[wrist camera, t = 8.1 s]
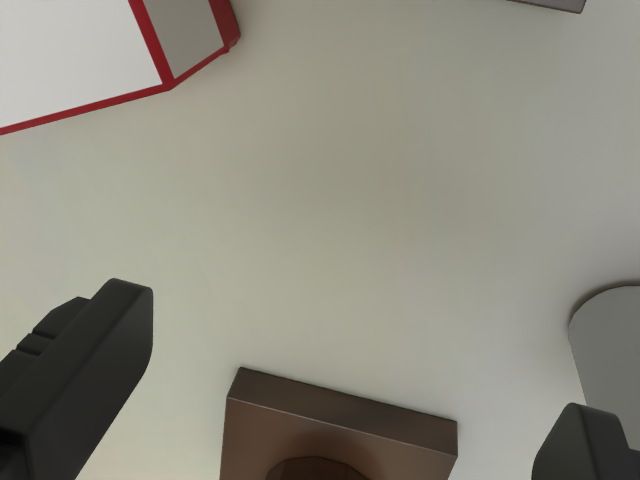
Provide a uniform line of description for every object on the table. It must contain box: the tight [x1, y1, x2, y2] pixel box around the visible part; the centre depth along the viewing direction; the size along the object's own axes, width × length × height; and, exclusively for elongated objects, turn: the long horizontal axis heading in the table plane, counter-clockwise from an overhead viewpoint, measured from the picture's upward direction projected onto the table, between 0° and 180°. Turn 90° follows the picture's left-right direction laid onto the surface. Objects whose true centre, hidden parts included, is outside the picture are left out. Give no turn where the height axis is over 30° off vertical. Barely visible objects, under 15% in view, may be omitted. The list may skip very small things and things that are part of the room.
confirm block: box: [219, 368, 458, 480], centre depth 31 cm, size 12×9×4 cm
